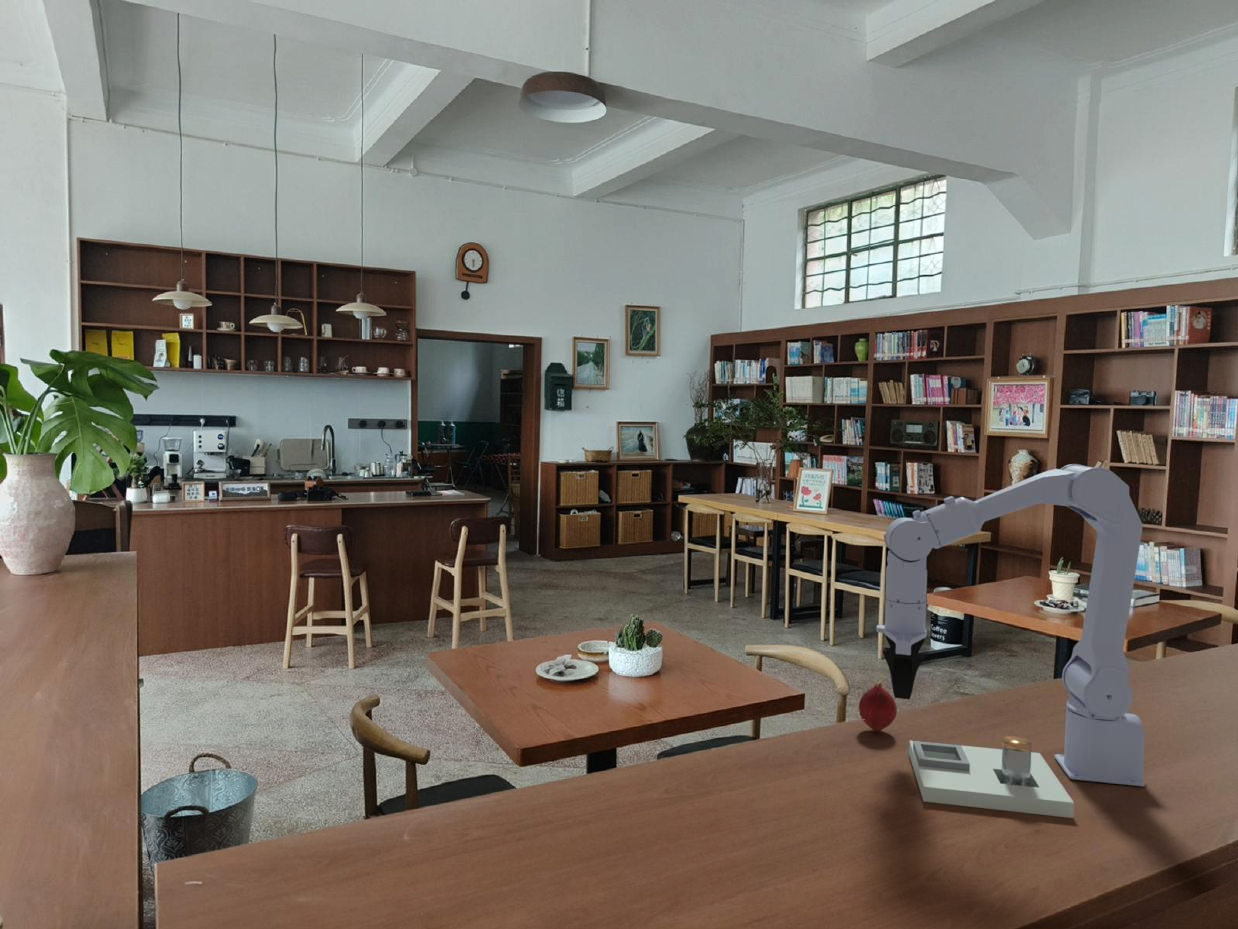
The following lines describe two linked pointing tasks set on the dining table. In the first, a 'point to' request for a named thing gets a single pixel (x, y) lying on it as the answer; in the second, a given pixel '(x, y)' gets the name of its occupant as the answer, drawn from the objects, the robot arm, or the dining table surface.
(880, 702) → the onion
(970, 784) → the board
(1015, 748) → the silver and gold cylinder
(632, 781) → the dining table surface
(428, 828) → the dining table surface
